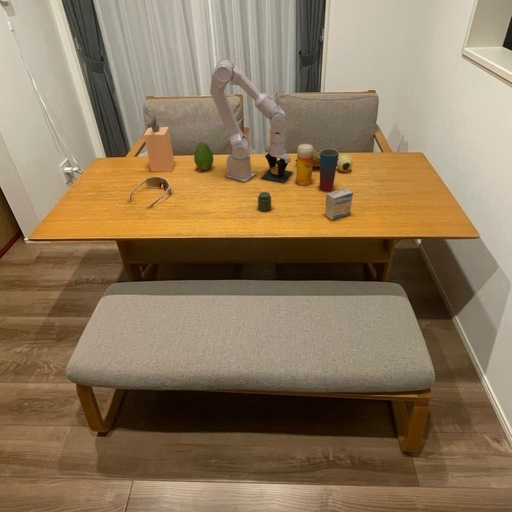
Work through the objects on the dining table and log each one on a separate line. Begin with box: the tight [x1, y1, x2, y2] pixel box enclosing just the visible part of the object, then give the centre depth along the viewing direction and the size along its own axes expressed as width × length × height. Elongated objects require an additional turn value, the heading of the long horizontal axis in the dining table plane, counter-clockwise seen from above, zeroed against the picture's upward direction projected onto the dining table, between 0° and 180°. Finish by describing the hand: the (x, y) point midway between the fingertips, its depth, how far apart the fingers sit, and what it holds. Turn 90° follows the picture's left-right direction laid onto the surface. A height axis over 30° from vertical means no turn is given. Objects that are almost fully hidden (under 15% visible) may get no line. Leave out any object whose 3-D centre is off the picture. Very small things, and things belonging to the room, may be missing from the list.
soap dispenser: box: [143, 115, 175, 173], centre depth 161 cm, size 13×9×22 cm
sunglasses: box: [128, 175, 172, 208], centre depth 149 cm, size 14×15×5 cm
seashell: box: [295, 148, 322, 168], centre depth 163 cm, size 11×14×10 cm
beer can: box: [295, 143, 315, 186], centre depth 150 cm, size 6×6×15 cm
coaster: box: [260, 168, 294, 184], centre depth 160 cm, size 10×10×1 cm
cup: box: [319, 147, 340, 193], centre depth 146 cm, size 7×7×15 cm
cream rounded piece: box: [336, 154, 354, 172], centre depth 160 cm, size 6×7×7 cm
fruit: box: [193, 142, 214, 171], centre depth 163 cm, size 8×8×12 cm
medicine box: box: [324, 188, 354, 221], centre depth 133 cm, size 8×4×9 cm, turn 117°
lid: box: [271, 165, 278, 175], centre depth 158 cm, size 5×5×1 cm
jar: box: [257, 191, 272, 213], centre depth 138 cm, size 5×5×6 cm
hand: (277, 173), depth 159 cm, fingers closed on lid, 5 cm apart
